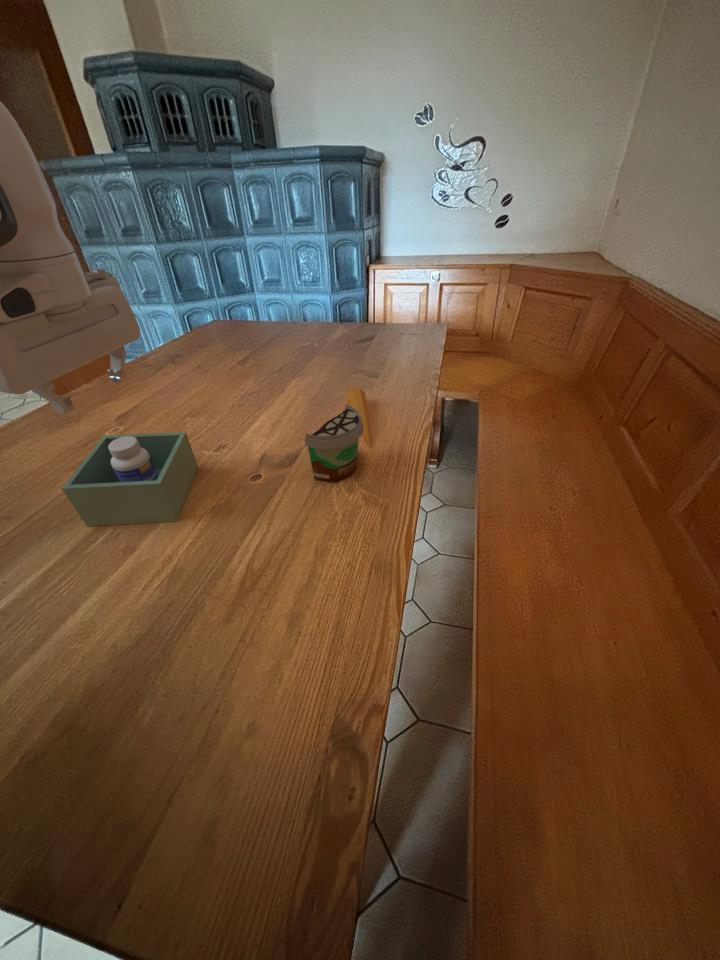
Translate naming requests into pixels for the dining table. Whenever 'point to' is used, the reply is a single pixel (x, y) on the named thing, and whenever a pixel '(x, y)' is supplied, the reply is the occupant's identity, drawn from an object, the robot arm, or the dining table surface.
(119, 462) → the pill bottle
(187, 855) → the dining table surface
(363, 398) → the carrot
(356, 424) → the food container
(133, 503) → the tub
